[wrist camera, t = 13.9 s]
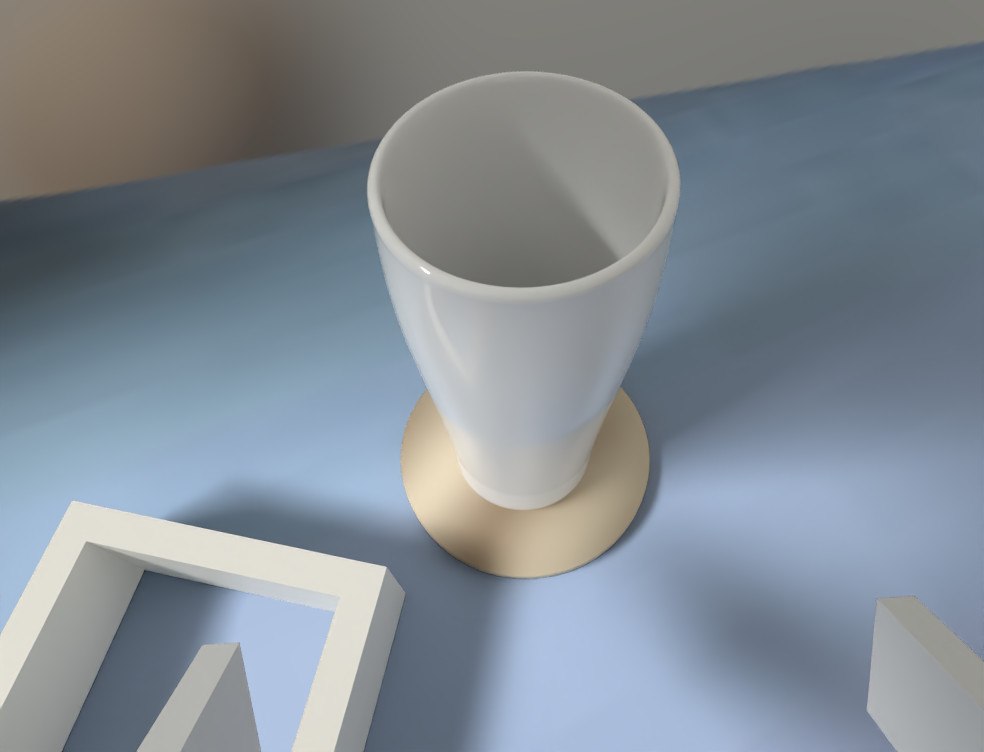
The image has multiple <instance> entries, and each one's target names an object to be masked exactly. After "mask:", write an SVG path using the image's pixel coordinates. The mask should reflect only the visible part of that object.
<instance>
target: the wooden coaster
mask: <svg viewBox="0 0 984 752" xmlns="http://www.w3.org/2000/svg"><path fill="white" fill-rule="evenodd" d="M649 464H650V454H649V445H648V439H647V435H646V431H645V427H644V425H643V422H642V420H641V417H640V415H639V413H638V411H637V409H636V407H635V406H634V404H633V402H632V400H631V399H630V398H629V396H628V395H627V394H626V392H625V391H624V390H623V388H622V387H621V386H620V388H619V390H618V393H617V395H616V397H615V399H614V401H613V403H612V406H611V408H610V410H609V412H608V414H607V417H606V419H605V421H604V423H603V425H602V428H601V430H600V432H599V434H598V437H597V439H596V441H595V444H594V446H593V448H592V452H591V456H590V460H589V464H588V466H587V469H586V471H585V473H584V475H583V477H582V479H581V480H580V482H579V483H578V485H577V486H576V487H575V488H574V489H573V490H572V491H571V492H570V493H569V494H568V495H567V496H565V497H564V498H562V499H561V500H559V501H558V502H556V503H554V504H552V505H549V506H547V507H543V508H540V509H535V510H512V509H507V508H503V507H500V506H497V505H495V504H493V503H491V502H489V501H487V500H485V499H484V498H482V497H481V496H480V495H478V494H477V493H476V492H475V491H474V490H473V489H472V488H471V487H470V486H469V484H468V483H467V482H466V480H465V479H464V477H463V475H462V473H461V471H460V469H459V467H458V464H457V460H456V457H455V452H454V448H453V446H452V443H451V441H450V439H449V436H448V434H447V432H446V430H445V427H444V425H443V423H442V421H441V419H440V416H439V414H438V412H437V410H436V407H435V405H434V403H433V401H432V399H431V397H430V394H429V392H428V390H427V389H426V390H425V392H424V393H423V395H422V396H421V397H420V399H419V400H418V402H417V403H416V405H415V407H414V409H413V411H412V413H411V415H410V417H409V420H408V423H407V425H406V428H405V432H404V436H403V441H402V449H401V472H402V477H403V483H404V488H405V490H406V493H407V496H408V499H409V502H410V504H411V506H412V508H413V510H414V512H415V514H416V516H417V518H418V520H419V522H420V523H421V525H422V526H423V527H424V529H425V530H426V532H427V533H428V534H429V535H430V537H431V538H432V539H433V540H434V541H435V542H436V543H437V544H438V545H439V546H440V547H441V548H443V549H444V550H445V551H446V552H448V553H449V554H450V555H451V556H453V557H454V558H456V559H458V560H459V561H461V562H463V563H464V564H466V565H468V566H470V567H472V568H475V569H477V570H479V571H482V572H485V573H488V574H492V575H496V576H499V577H506V578H514V579H538V578H546V577H552V576H556V575H560V574H564V573H567V572H570V571H572V570H575V569H577V568H579V567H582V566H584V565H586V564H587V563H589V562H591V561H593V560H594V559H596V558H598V557H599V556H600V555H602V554H603V553H604V552H605V551H607V550H608V549H609V548H610V547H612V546H613V544H614V543H615V542H616V541H617V540H618V539H619V538H620V537H621V536H622V535H623V534H624V532H625V531H626V529H627V528H628V526H629V525H630V524H631V522H632V520H633V519H634V517H635V515H636V513H637V511H638V509H639V507H640V504H641V502H642V499H643V496H644V493H645V490H646V487H647V482H648V476H649Z"/></svg>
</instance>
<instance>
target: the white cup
mask: <svg viewBox="0 0 984 752" xmlns="http://www.w3.org/2000/svg"><path fill="white" fill-rule="evenodd" d="M680 190H681V183H680V172H679V167H678V162H677V159H676V156H675V153H674V151H673V149H672V147H671V145H670V143H669V141H668V139H667V137H666V136H665V134H664V133H663V131H662V130H661V129H660V127H659V126H658V125H657V124H656V122H655V121H654V120H653V119H652V118H651V117H650V116H649V115H648V114H647V113H646V112H644V111H643V110H642V109H641V108H640V107H638V106H637V105H636V104H634V103H633V102H631V101H630V100H629V99H627V98H626V97H624V96H622V95H620V94H619V93H617V92H615V91H613V90H610V89H608V88H606V87H604V86H602V85H599V84H596V83H594V82H591V81H588V80H585V79H581V78H578V77H573V76H569V75H564V74H558V73H551V72H539V71H518V72H517V71H515V72H504V73H496V74H489V75H484V76H480V77H476V78H471V79H468V80H465V81H462V82H459V83H456V84H454V85H451V86H449V87H446V88H444V89H442V90H440V91H438V92H435V93H434V94H432V95H430V96H428V97H427V98H425V99H423V100H422V101H420V102H419V103H417V104H416V105H415V106H413V107H412V108H411V109H409V110H408V111H407V112H406V113H404V114H403V115H402V116H401V117H400V118H399V119H398V120H397V121H396V122H395V123H394V124H393V126H392V127H391V128H390V129H389V131H388V132H387V133H386V135H385V136H384V138H383V139H382V140H381V142H380V144H379V146H378V148H377V150H376V152H375V154H374V157H373V159H372V162H371V166H370V170H369V174H368V182H367V200H368V206H369V212H370V215H371V219H372V224H373V229H374V234H375V239H376V244H377V249H378V253H379V258H380V262H381V266H382V270H383V274H384V278H385V282H386V285H387V289H388V292H389V296H390V299H391V302H392V305H393V309H394V312H395V315H396V318H397V321H398V323H399V326H400V329H401V331H402V334H403V336H404V339H405V341H406V344H407V346H408V348H409V350H410V353H411V355H412V357H413V360H414V362H415V364H416V366H417V368H418V371H419V373H420V375H421V377H422V379H423V381H424V384H425V386H426V388H427V390H428V392H429V394H430V397H431V399H432V401H433V403H434V405H435V407H436V410H437V412H438V414H439V416H440V419H441V421H442V423H443V425H444V427H445V430H446V432H447V434H448V436H449V439H450V441H451V443H452V446H453V448H454V452H455V457H456V460H457V464H458V467H459V469H460V471H461V473H462V475H463V477H464V479H465V480H466V482H467V483H468V484H469V486H470V487H471V488H472V489H473V490H474V491H475V492H476V493H477V494H478V495H480V496H481V497H482V498H484V499H485V500H487V501H489V502H491V503H493V504H495V505H497V506H500V507H503V508H507V509H512V510H535V509H540V508H543V507H547V506H549V505H552V504H554V503H556V502H558V501H559V500H561V499H562V498H564V497H565V496H567V495H568V494H569V493H570V492H571V491H572V490H573V489H574V488H575V487H576V486H577V485H578V483H579V482H580V480H581V479H582V477H583V475H584V473H585V471H586V469H587V466H588V464H589V460H590V456H591V452H592V448H593V446H594V444H595V441H596V439H597V437H598V434H599V432H600V430H601V428H602V425H603V423H604V421H605V419H606V417H607V414H608V412H609V410H610V408H611V406H612V403H613V401H614V399H615V397H616V395H617V393H618V390H619V388H620V386H621V384H622V382H623V380H624V378H625V375H626V373H627V371H628V369H629V367H630V365H631V362H632V360H633V358H634V356H635V354H636V351H637V349H638V347H639V345H640V342H641V340H642V337H643V335H644V332H645V330H646V327H647V324H648V321H649V318H650V316H651V313H652V310H653V307H654V304H655V301H656V298H657V294H658V291H659V288H660V284H661V280H662V277H663V273H664V269H665V265H666V261H667V256H668V252H669V247H670V242H671V238H672V233H673V228H674V223H675V218H676V214H677V210H678V205H679V201H680Z"/></svg>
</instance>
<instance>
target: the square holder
mask: <svg viewBox="0 0 984 752" xmlns="http://www.w3.org/2000/svg"><path fill="white" fill-rule="evenodd" d="M144 570H147V571H152V572H156V573H161V574H165V575H170V576H174V577H178V578H183V579H187V580H192V581H196V582H201V583H205V584H210V585H214V586H219V587H223V588H228V589H232V590H237V591H241V592H246V593H250V594H255V595H259V596H264V597H268V598H273V599H277V600H282V601H286V602H290V603H295V604H299V605H304V606H308V607H313V608H317V609H322V610H326V611H331V612H335V614H334V617H333V620H332V623H331V627H330V630H329V633H328V636H327V639H326V643H325V646H324V649H323V652H322V655H321V658H320V662H319V665H318V668H317V671H316V674H315V678H314V681H313V684H312V687H311V690H310V694H309V697H308V700H307V703H306V706H305V710H304V713H303V716H302V719H301V722H300V726H299V729H298V732H297V735H296V738H295V742H294V745H293V748H292V751H291V752H364V748H365V744H366V740H367V737H368V733H369V729H370V725H371V722H372V718H373V714H374V710H375V707H376V703H377V699H378V696H379V692H380V688H381V684H382V681H383V677H384V673H385V669H386V666H387V662H388V658H389V654H390V651H391V647H392V643H393V639H394V636H395V632H396V628H397V625H398V621H399V617H400V613H401V610H402V606H403V602H404V598H405V595H406V593H405V591H404V590H403V589H402V587H401V586H400V584H399V583H398V582H397V580H396V579H395V578H394V576H393V575H392V573H391V572H390V571H389V569H388V568H387V567H385V566H380V565H375V564H370V563H366V562H361V561H356V560H351V559H347V558H342V557H337V556H332V555H328V554H323V553H318V552H313V551H309V550H304V549H299V548H295V547H290V546H285V545H280V544H276V543H271V542H266V541H261V540H257V539H252V538H247V537H242V536H238V535H233V534H228V533H223V532H219V531H214V530H209V529H204V528H200V527H195V526H190V525H185V524H181V523H176V522H171V521H166V520H162V519H157V518H152V517H147V516H143V515H138V514H133V513H129V512H124V511H119V510H114V509H110V508H105V507H100V506H95V505H91V504H86V503H81V502H76V501H72V502H71V504H70V506H69V508H68V509H67V511H66V513H65V515H64V517H63V519H62V521H61V523H60V524H59V526H58V528H57V530H56V532H55V534H54V536H53V538H52V539H51V541H50V543H49V545H48V547H47V549H46V551H45V553H44V554H43V556H42V558H41V560H40V562H39V564H38V566H37V568H36V569H35V571H34V573H33V575H32V577H31V579H30V581H29V582H28V584H27V586H26V588H25V590H24V592H23V594H22V596H21V597H20V599H19V601H18V603H17V605H16V607H15V609H14V611H13V612H12V614H11V616H10V618H9V620H8V622H7V624H6V626H5V627H4V629H3V631H2V633H1V635H0V752H62V750H63V748H64V745H65V743H66V741H67V739H68V737H69V734H70V732H71V730H72V728H73V726H74V723H75V721H76V719H77V717H78V715H79V712H80V710H81V708H82V706H83V704H84V702H85V699H86V697H87V695H88V693H89V691H90V688H91V686H92V684H93V682H94V680H95V677H96V675H97V673H98V671H99V669H100V667H101V664H102V662H103V660H104V658H105V656H106V653H107V651H108V649H109V647H110V645H111V642H112V640H113V638H114V636H115V634H116V631H117V629H118V627H119V625H120V623H121V621H122V618H123V616H124V614H125V612H126V610H127V607H128V605H129V603H130V601H131V599H132V596H133V594H134V592H135V590H136V588H137V586H138V583H139V581H140V579H141V577H142V575H143V572H144Z"/></svg>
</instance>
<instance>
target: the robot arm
mask: <svg viewBox="0 0 984 752" xmlns="http://www.w3.org/2000/svg"><path fill="white" fill-rule="evenodd" d="M867 711H868V713H869V714H870V716H871V717H872V718H873V720H874V721H875V722H876V724H877V725H878V726H879V728H880V729H881V730H882V732H883V733H884V735H885V736H886V737H887V739H888V740H889V741H890V743H891V744H892V745H893V747H894V748H895V750H896V751H897V752H984V661H983V660H982V659H981V658H980V657H979V656H977V655H976V654H975V653H974V652H973V651H972V650H971V649H970V648H969V647H968V646H967V645H966V644H965V643H964V642H963V641H962V640H961V639H959V638H958V637H957V636H956V635H955V634H954V633H953V632H952V631H951V630H950V629H949V628H948V627H947V626H946V625H945V624H944V623H943V622H941V621H940V620H939V619H938V618H937V617H936V616H935V615H934V614H933V613H932V612H931V611H930V610H929V609H928V608H927V607H926V606H925V605H923V604H922V603H921V602H920V601H919V600H918V599H917V598H916V597H915V596H907V597H892V598H878V599H877V603H876V614H875V625H874V636H873V647H872V658H871V669H870V680H869V691H868V702H867ZM136 752H261V748H260V743H259V738H258V733H257V728H256V723H255V718H254V713H253V708H252V703H251V698H250V693H249V688H248V683H247V678H246V673H245V668H244V663H243V658H242V653H241V648H240V643H224V644H210V645H202V647H201V648H200V650H199V652H198V653H197V655H196V656H195V658H194V660H193V661H192V663H191V664H190V666H189V668H188V669H187V671H186V672H185V674H184V676H183V677H182V679H181V681H180V682H179V684H178V685H177V687H176V689H175V690H174V692H173V693H172V695H171V697H170V698H169V700H168V701H167V703H166V705H165V706H164V708H163V710H162V711H161V713H160V714H159V716H158V718H157V719H156V721H155V722H154V724H153V726H152V727H151V729H150V730H149V732H148V734H147V735H146V737H145V739H144V740H143V742H142V743H141V745H140V747H139V748H138V750H137V751H136Z"/></svg>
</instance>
